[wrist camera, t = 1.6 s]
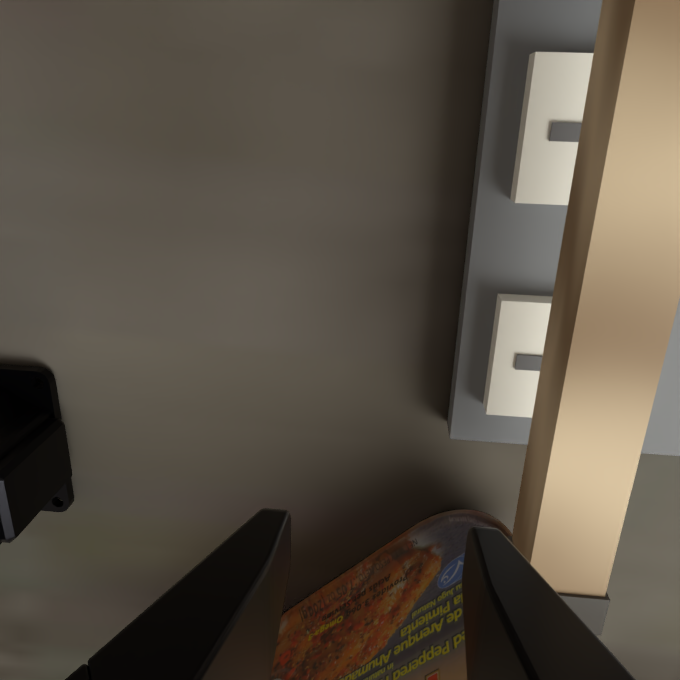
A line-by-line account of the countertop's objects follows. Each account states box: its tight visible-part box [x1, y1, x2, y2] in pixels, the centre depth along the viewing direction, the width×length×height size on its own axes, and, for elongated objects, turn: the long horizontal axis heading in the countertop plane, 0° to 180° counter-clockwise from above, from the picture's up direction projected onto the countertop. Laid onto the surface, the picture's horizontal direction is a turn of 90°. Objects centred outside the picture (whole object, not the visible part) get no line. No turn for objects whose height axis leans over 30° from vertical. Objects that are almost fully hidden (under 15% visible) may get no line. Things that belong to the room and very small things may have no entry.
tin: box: [270, 509, 512, 680], centre depth 22 cm, size 15×3×8 cm, turn 133°
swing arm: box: [507, 0, 680, 635], centre depth 13 cm, size 20×4×2 cm, turn 178°
